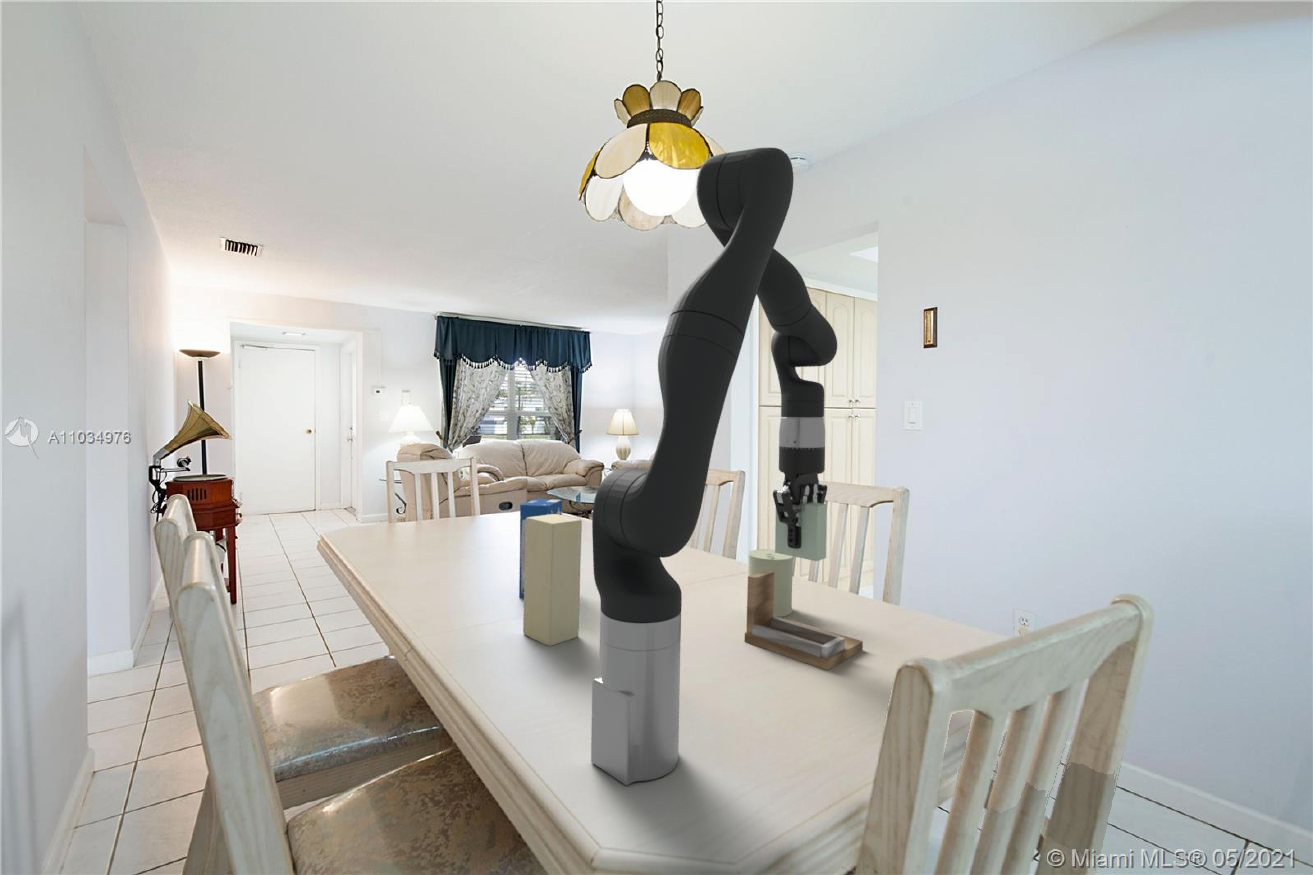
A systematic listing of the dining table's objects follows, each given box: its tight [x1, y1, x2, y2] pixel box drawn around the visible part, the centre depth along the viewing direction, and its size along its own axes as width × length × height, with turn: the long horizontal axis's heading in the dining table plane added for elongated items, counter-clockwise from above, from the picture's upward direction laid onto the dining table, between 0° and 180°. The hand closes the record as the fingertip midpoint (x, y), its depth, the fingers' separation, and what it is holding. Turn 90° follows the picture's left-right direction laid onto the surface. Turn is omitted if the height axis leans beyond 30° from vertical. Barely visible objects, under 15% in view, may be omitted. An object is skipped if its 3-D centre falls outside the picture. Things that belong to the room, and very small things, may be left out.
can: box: [747, 548, 794, 618], centre depth 122 cm, size 9×9×12 cm
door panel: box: [774, 502, 828, 562], centre depth 100 cm, size 3×8×9 cm, turn 44°
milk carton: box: [518, 498, 563, 599], centre depth 131 cm, size 10×6×20 cm, turn 172°
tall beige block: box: [522, 514, 583, 647], centre depth 105 cm, size 8×7×21 cm
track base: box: [744, 571, 864, 671], centre depth 103 cm, size 12×16×12 cm
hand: (800, 545), depth 100 cm, fingers closed on door panel, 3 cm apart
